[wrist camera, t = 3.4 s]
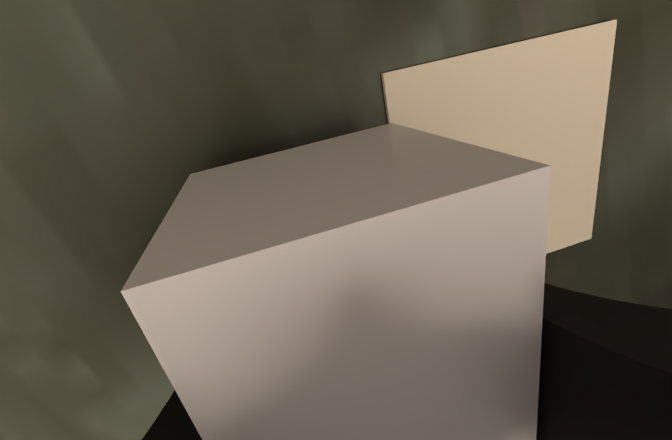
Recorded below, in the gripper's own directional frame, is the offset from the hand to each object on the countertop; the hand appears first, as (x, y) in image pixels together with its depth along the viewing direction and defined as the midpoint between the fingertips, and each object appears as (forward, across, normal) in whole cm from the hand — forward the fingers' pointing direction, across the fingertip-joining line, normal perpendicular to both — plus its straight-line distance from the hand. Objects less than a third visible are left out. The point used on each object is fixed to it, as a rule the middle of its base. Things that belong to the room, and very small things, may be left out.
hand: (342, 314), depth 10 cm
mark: (+4, -9, -1) cm, 10 cm away
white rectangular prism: (+2, 0, 0) cm, 2 cm away
